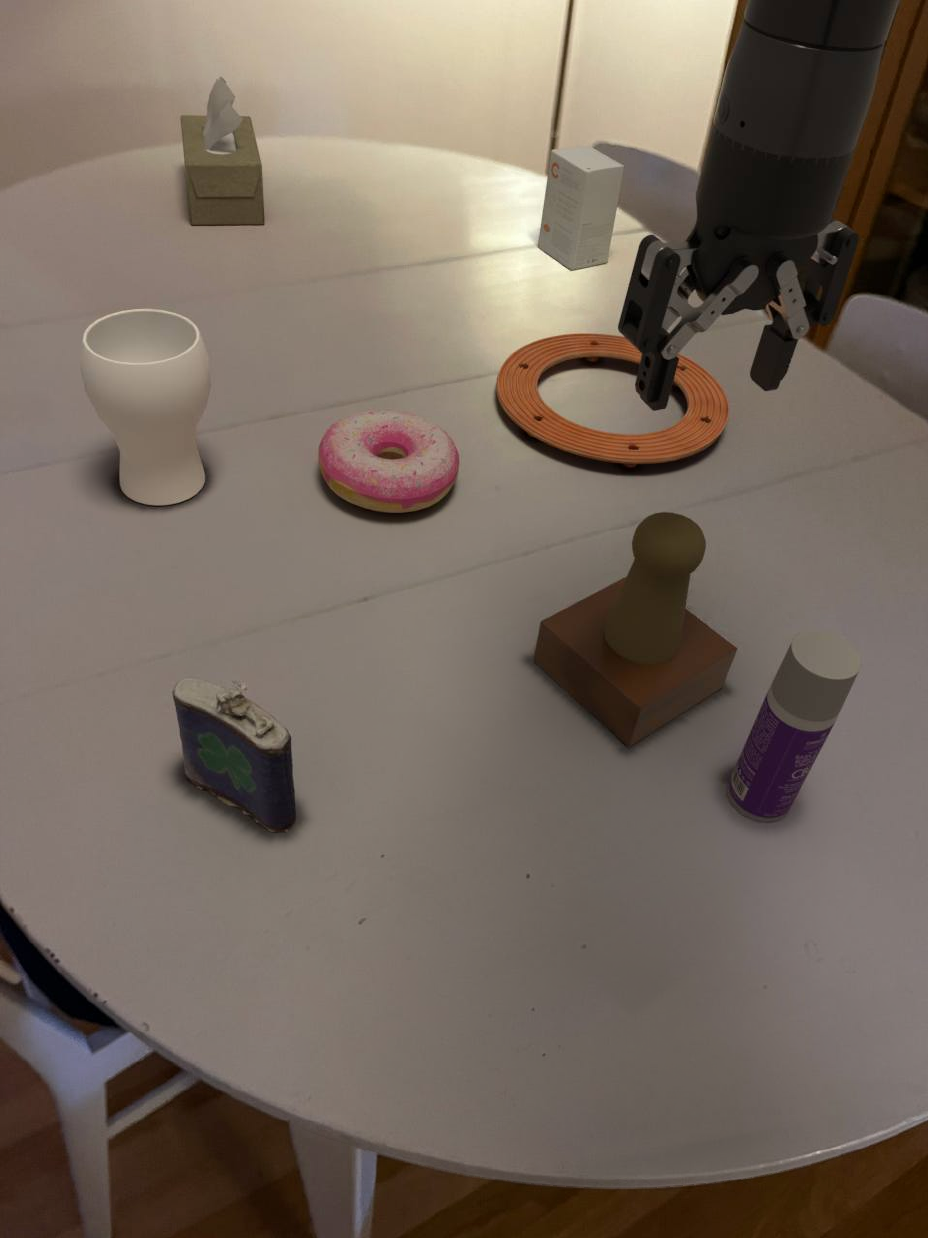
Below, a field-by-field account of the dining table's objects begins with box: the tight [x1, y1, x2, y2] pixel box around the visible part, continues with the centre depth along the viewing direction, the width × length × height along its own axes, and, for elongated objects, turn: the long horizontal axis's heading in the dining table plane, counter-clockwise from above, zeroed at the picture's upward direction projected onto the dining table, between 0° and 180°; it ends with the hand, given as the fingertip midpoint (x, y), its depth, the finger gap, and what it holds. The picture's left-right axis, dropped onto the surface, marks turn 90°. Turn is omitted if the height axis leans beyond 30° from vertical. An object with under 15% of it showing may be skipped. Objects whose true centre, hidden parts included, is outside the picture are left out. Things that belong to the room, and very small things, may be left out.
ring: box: [495, 332, 731, 468], centre depth 111 cm, size 25×25×2 cm
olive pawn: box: [604, 511, 707, 664], centre depth 76 cm, size 6×6×11 cm
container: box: [726, 629, 862, 823], centre depth 70 cm, size 5×5×15 cm
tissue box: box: [179, 76, 266, 226], centre depth 138 cm, size 19×10×16 cm, turn 13°
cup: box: [80, 308, 212, 506], centre depth 91 cm, size 11×11×15 cm
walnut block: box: [532, 576, 738, 748], centre depth 81 cm, size 11×11×4 cm
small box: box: [537, 144, 625, 271], centre depth 135 cm, size 8×6×13 cm
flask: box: [171, 677, 298, 833], centre depth 67 cm, size 9×3×11 cm, turn 58°
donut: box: [317, 409, 460, 514], centre depth 97 cm, size 14×13×5 cm
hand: (708, 393), depth 65 cm, fingers open, 8 cm apart
